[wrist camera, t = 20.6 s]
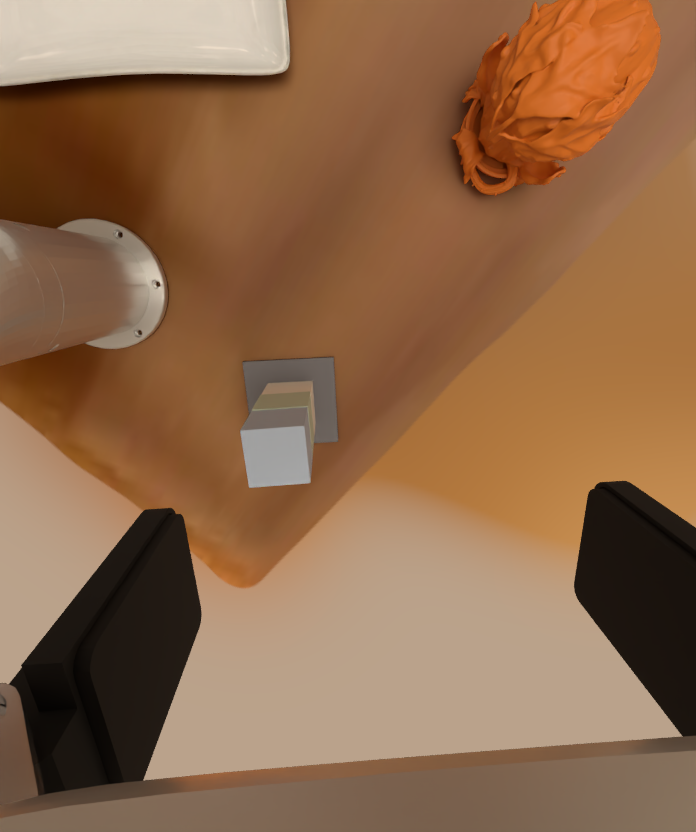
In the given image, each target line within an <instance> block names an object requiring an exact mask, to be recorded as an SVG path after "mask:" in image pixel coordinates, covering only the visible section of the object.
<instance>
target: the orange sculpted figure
mask: <svg viewBox="0 0 696 832" xmlns="http://www.w3.org/2000/svg"><path fill="white" fill-rule="evenodd" d="M659 32H660V27H658V24H657V22H656V21H655V19H654V17H653V12H652V6H651V4H650V3H649V2H648V0H558V1H556V2H555V3H553V4H551V5H550V4H544V5H542V6H541V7H540V9H539V10H538V7H537V3H536V2H535V3H534V4H533V6H532V9H531V13H530V17H529V19H528V20H527V21H526V22H525V23H524V24H523V25H522V26H521V28H520V30H519V33H518V35H516V36H515V37H514V38H513V39H512V41H511V42H510V44H509V45H508V46H506V44H507V42H508V40H509V36H508V34H507V33H506V32H505V33H504V34H503V35H501V36H499V38H498V41H497V42H494V43H493V44H492V45H491V46H490V47H489V48H488V49H487V51H486V52H485V54H484V56H483V58H482V62H481V64H480V68H479V69H478V72H477V79H476V80H475V81H474V84H473V85H472V86H470V87H469V89H468V91H466V92H465V93H466V96H465V98H464V99H463V100H462V102H463V103H467V102H468V100H470V99H471V98H474V101H473V103H472V105H471V107H470V109H469V112H468V113H467V115H466V116H465V118H464V121H463V123H462V126H461V129H460V132H458V133H457V134H455V135H454V136H453V137H452V139H453V140H456V144H457V146H458V149H459V151H460V152H459V155H461V156H462V160H461V164H460V165H462V164H463V171H464V173H465V175H464V184H466V183H467V182H468V181H469V179H471V180H472V182H473V185H472V186H475V187H476V188H477V189H478V190H479V191H480V192H482V193H483V194H487V195H495V196H496V195H497V194H500V193H503V192H506V191H508V190H509V189H511V188H512V187H513V186H517V185H520V184H523V183H524V182H525V183H526V184H529V185H532V184H534V185H546V184H549V183H550V181H551V180H553V179H554V178H555V177H560V176H561V175H562V174H563V173H565V172H566V168H565V167H563V166H562V167H560V168H559V164H558V163H556V162H551V161H554V160H561V161H567V160H571V159H573V158H575V157H579V156H582V155H583V154H585V153H586V152H588V151H589V150H590V149H591V148H592V147H593V146H594V145H595V144H596V143H597V142H598V141H600V140H602V139H603V138H604V137H605V136H606V134H607V133H609V132H610V131H611V129H612V127H613V125H614V123H615V122H616V121H618V120H619V119H620V118H621V117H622V116H623V115H624V114H625V113H626V111H627V110H628V109H629V108H630V106H631V105H632V104H633V102H634V101H635V99H636V98H637V96H638V95H639V94H640V92H641V91H642V90H643V88H644V87H645V86H646V84H647V83H648V81H649V80H650V78H651V77H652V75H653V72H654V70H655V67H656V64H657V57H658V50H659V47H660V41H661V36H660V33H659ZM475 167H476V168H477V169H479V170H480V171H481V172H482V173H484V174H486V175H488V176H491V177H495V178H506V180H505V181H503V182H501V183H499V184H495V185H488V184H485V183H484V182H483V181H482V180H481V179H480V177H479V175H478V173H477V170H476V168H475ZM472 186H471V187H472Z"/></svg>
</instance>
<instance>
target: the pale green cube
mask: <svg viewBox="0 0 696 832" xmlns="http://www.w3.org/2000/svg"><path fill="white" fill-rule="evenodd" d="M299 407H307V408H308V418H309V428H310V438H311V448H312V457H313V446H314V429H313V418H312V406H311V395H310V391H309V392H293V393H278V394H263V395H260V396H259V398H258V400H257V402H256V403H255V405H254V407H253V408H252V411H260V410H273V409H286V408H299Z"/></svg>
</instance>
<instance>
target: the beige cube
mask: <svg viewBox="0 0 696 832" xmlns="http://www.w3.org/2000/svg"><path fill="white" fill-rule="evenodd" d="M309 391H310V395H311V406H312V418H313V429H314V435H315V424H316V421H315V407H314V393H313V381H299V382H280V383H268V384H267V385H266V387H265V389H264V391H263V393H262V394H261V395H263V394H278V393H293V392H309Z"/></svg>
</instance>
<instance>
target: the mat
mask: <svg viewBox="0 0 696 832" xmlns="http://www.w3.org/2000/svg"><path fill="white" fill-rule="evenodd" d="M243 370H244V378H245V386H246V394H247V402H248V410H249V414H250V413H251V411H252V408H253V407H254V405H255V403H256V402H257V400H258V398H259V396H260V395H261V394H262V393H263V391H264V389H265V387H266V385H267V384H268V383H280V382H299V381H313V393H314V407H315V421H316V424H315V435H314V443H322V442H338V429H337V411H336V393H335V374H334V357H320V358H301V359H281V360H261V361H243Z"/></svg>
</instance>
